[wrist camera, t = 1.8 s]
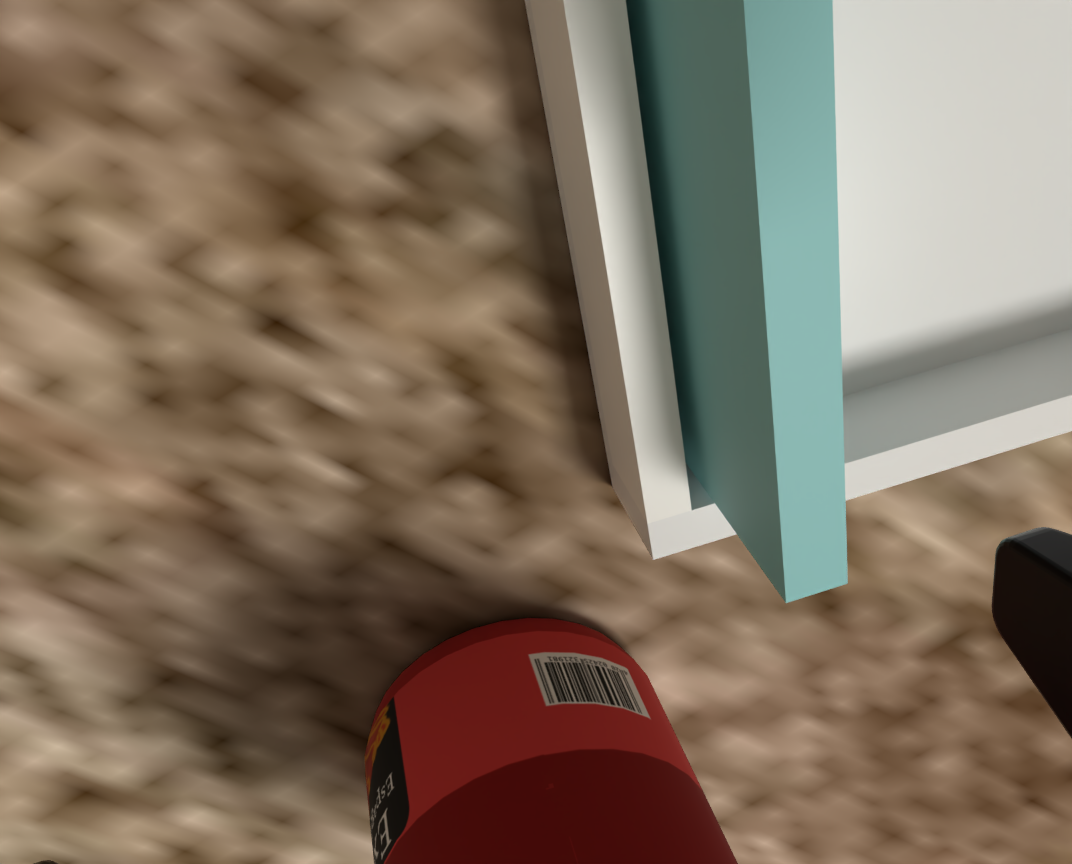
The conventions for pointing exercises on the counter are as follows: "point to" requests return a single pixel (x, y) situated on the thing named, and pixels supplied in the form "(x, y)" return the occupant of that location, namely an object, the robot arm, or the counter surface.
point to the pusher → (752, 265)
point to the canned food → (532, 757)
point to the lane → (848, 242)
